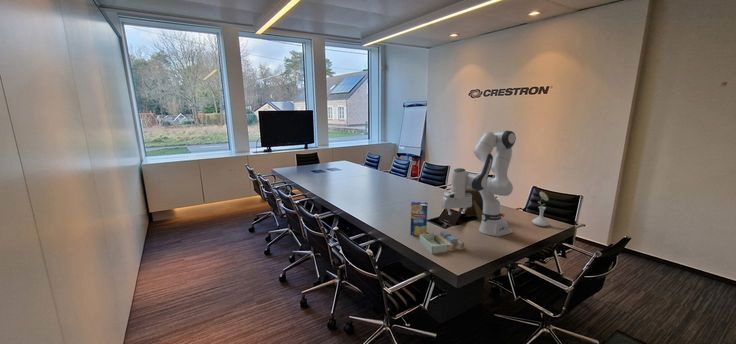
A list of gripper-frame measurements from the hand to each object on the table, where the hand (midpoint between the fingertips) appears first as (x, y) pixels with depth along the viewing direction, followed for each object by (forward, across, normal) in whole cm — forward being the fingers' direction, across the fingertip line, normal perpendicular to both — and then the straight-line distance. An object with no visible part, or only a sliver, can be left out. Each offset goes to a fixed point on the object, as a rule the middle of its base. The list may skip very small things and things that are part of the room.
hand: (456, 214), depth 197 cm
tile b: (+15, +7, +8) cm, 18 cm away
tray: (+19, +18, +5) cm, 27 cm away
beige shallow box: (+19, +7, +4) cm, 20 cm away
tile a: (+15, +7, 0) cm, 16 cm away
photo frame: (+18, -37, -35) cm, 54 cm away
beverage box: (+19, +18, -17) cm, 32 cm away
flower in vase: (+17, -77, -10) cm, 79 cm away
